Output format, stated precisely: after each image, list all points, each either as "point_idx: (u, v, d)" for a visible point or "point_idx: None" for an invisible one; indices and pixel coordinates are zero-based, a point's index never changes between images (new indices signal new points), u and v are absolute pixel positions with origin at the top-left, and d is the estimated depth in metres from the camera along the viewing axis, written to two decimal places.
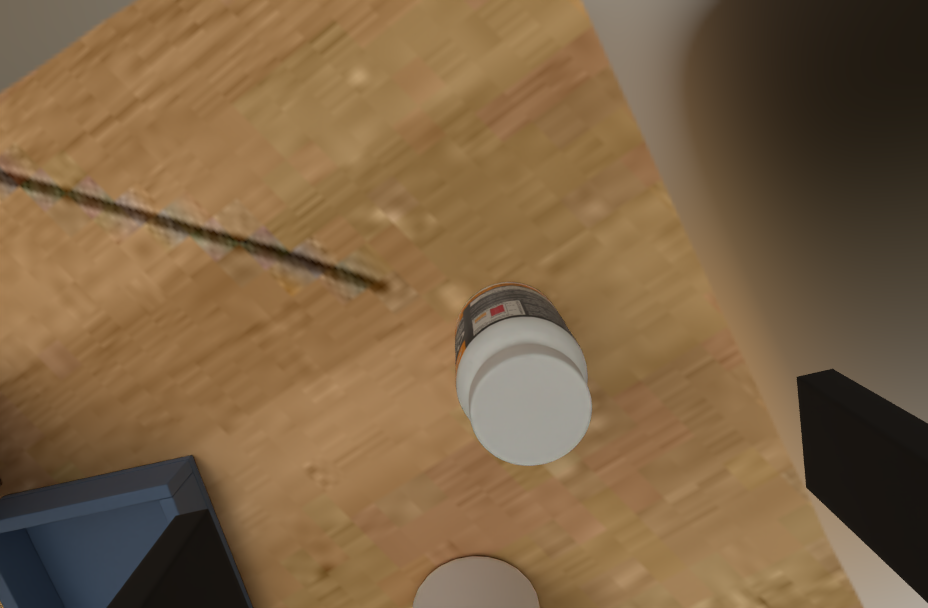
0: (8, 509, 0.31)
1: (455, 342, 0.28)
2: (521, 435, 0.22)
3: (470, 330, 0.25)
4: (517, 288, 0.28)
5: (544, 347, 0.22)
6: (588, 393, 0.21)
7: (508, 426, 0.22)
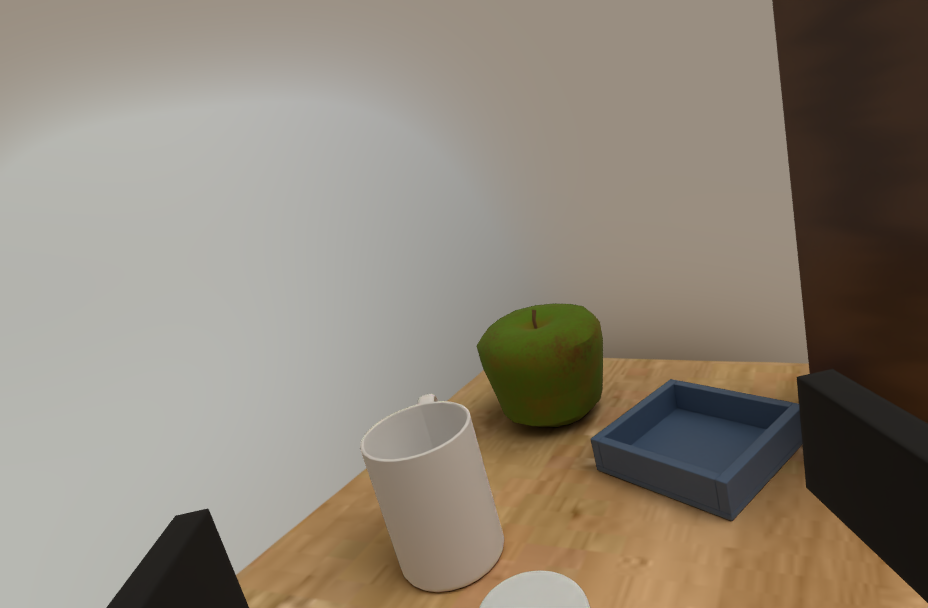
0: (794, 427, 0.43)
1: None
2: (526, 594, 0.24)
3: None
4: None
5: None
6: None
7: (541, 593, 0.24)
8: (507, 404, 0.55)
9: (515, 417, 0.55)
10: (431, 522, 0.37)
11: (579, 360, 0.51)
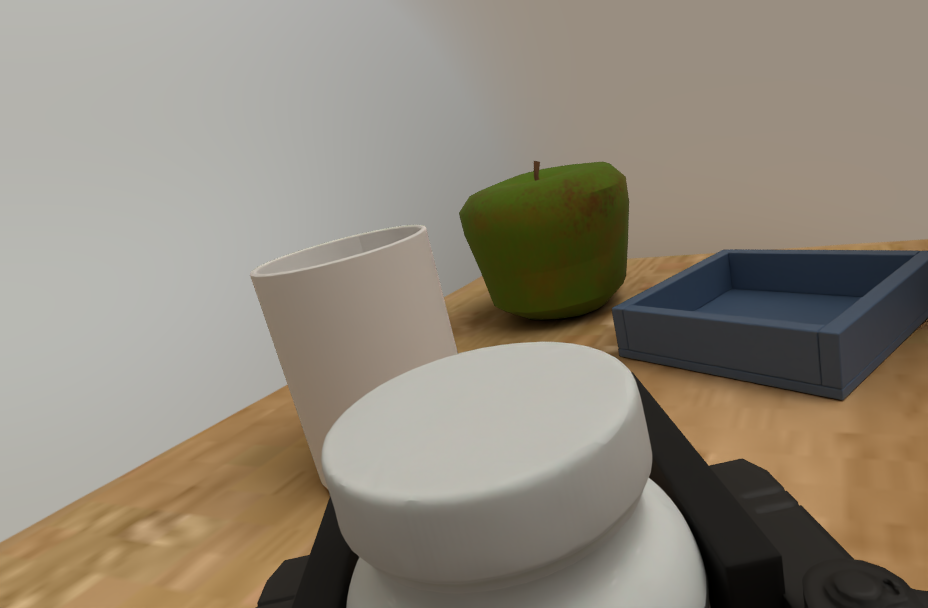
0: (926, 280, 0.28)
1: None
2: (469, 376, 0.09)
3: None
4: None
5: (532, 549, 0.06)
6: (346, 485, 0.07)
7: (506, 371, 0.09)
8: (496, 285, 0.41)
9: (507, 303, 0.41)
10: (353, 381, 0.23)
11: (596, 214, 0.37)
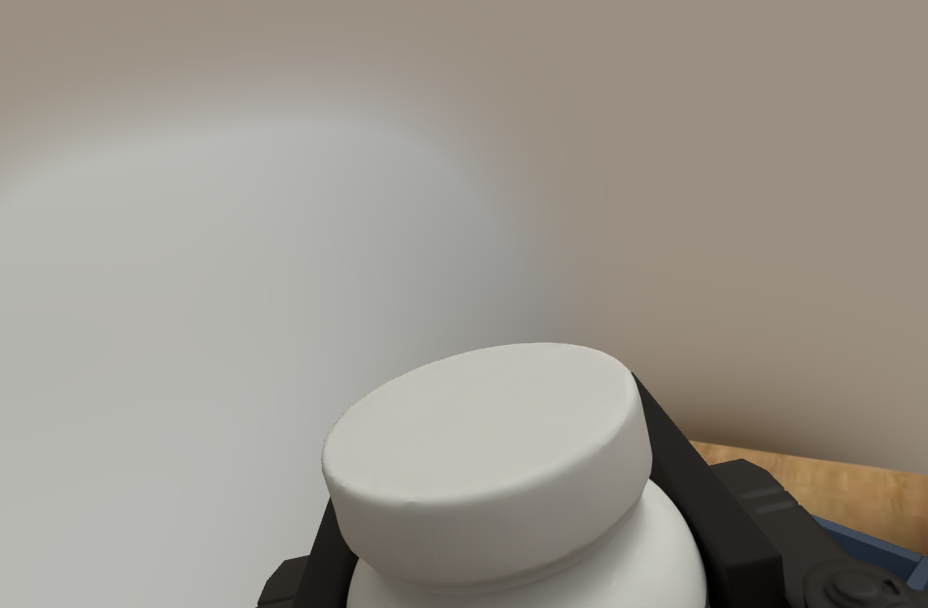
0: None
1: None
2: (469, 377, 0.09)
3: None
4: None
5: (532, 551, 0.06)
6: (346, 486, 0.07)
7: (506, 372, 0.09)
8: None
9: None
10: None
11: None
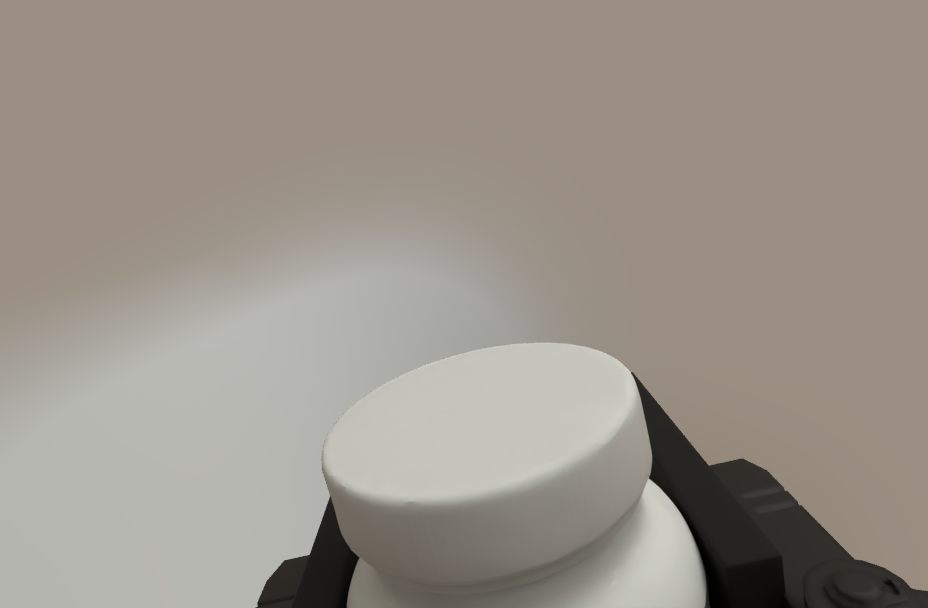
0: None
1: None
2: (469, 377, 0.09)
3: None
4: None
5: (532, 550, 0.06)
6: (346, 486, 0.07)
7: (506, 372, 0.09)
8: None
9: None
10: None
11: None
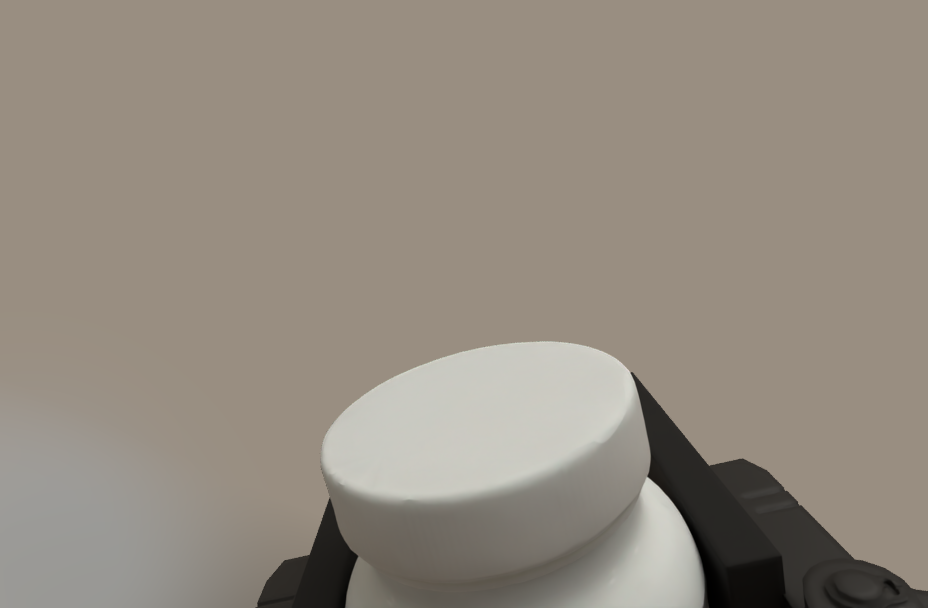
0: None
1: None
2: (468, 376, 0.09)
3: None
4: None
5: (530, 548, 0.06)
6: (345, 484, 0.07)
7: (506, 371, 0.09)
8: None
9: None
10: None
11: None
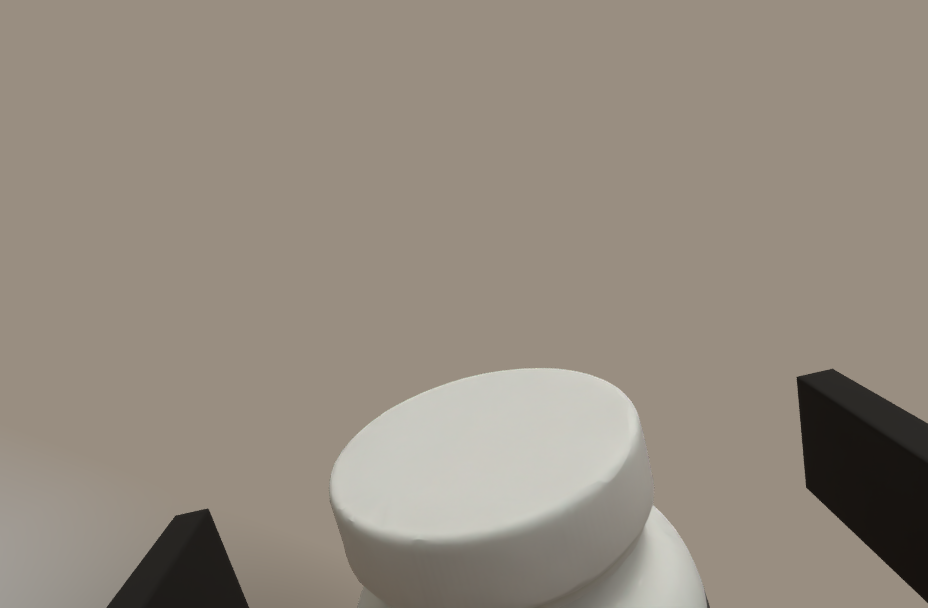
0: None
1: None
2: (473, 405, 0.09)
3: None
4: None
5: (537, 587, 0.06)
6: (354, 520, 0.07)
7: (510, 399, 0.09)
8: None
9: None
10: None
11: None
